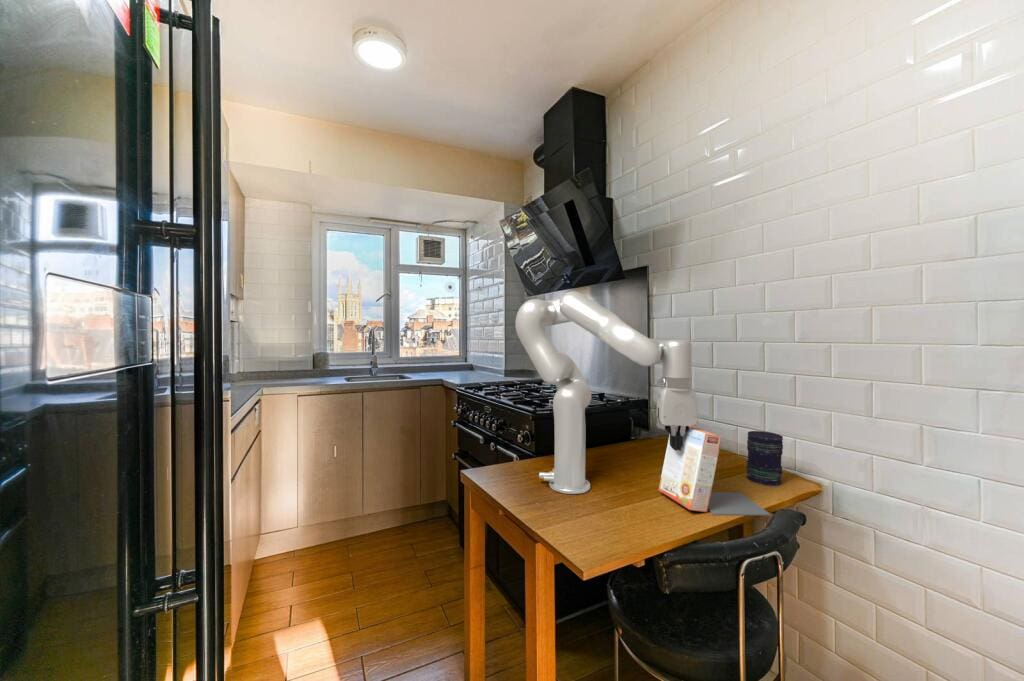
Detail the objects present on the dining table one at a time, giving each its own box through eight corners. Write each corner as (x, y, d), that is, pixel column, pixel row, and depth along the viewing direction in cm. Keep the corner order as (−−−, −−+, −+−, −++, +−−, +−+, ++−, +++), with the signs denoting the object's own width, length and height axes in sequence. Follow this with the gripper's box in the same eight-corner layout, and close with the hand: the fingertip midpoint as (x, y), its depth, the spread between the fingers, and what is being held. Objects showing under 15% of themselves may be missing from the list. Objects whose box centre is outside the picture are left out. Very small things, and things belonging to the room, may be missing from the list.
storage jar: (743, 473, 137) (744, 429, 136) (776, 477, 134) (778, 432, 133) (749, 483, 127) (751, 437, 127) (786, 488, 124) (787, 440, 124)
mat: (713, 514, 106) (713, 513, 106) (690, 493, 120) (690, 491, 120) (770, 515, 106) (770, 514, 106) (740, 493, 120) (740, 492, 120)
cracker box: (708, 513, 107) (723, 436, 107) (689, 511, 105) (704, 433, 106) (674, 492, 120) (687, 423, 121) (657, 490, 119) (670, 420, 119)
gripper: (654, 385, 108) (653, 453, 109) (710, 385, 108) (709, 453, 108) (645, 382, 116) (645, 445, 116) (697, 382, 115) (697, 445, 116)
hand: (676, 448), depth 112 cm, fingers closed
